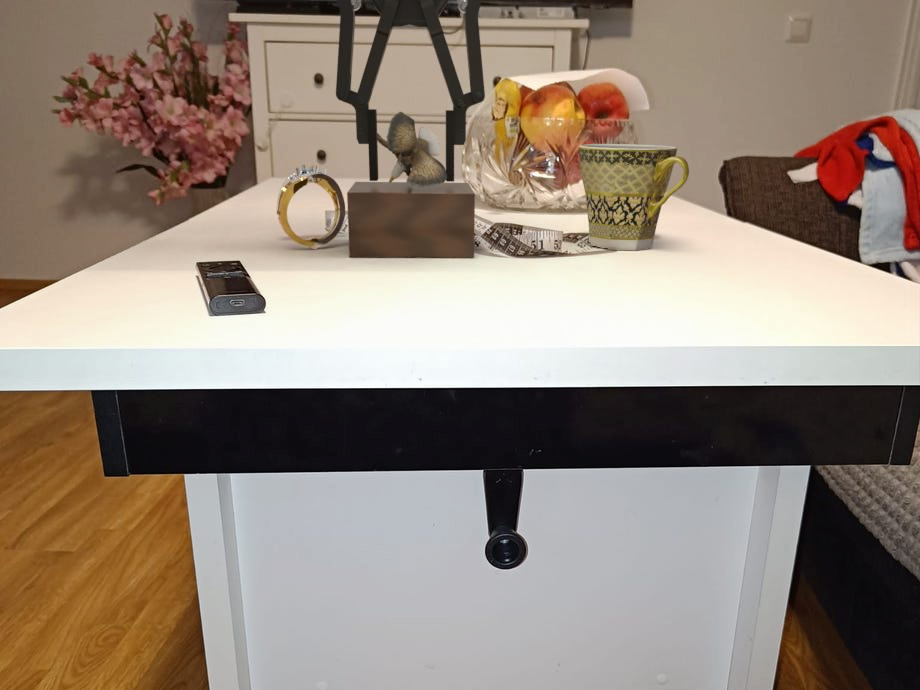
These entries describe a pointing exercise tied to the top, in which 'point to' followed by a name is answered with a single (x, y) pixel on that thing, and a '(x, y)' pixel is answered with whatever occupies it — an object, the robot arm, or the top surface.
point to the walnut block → (411, 220)
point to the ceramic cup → (626, 191)
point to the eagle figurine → (413, 152)
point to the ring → (292, 187)
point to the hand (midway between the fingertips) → (412, 179)
